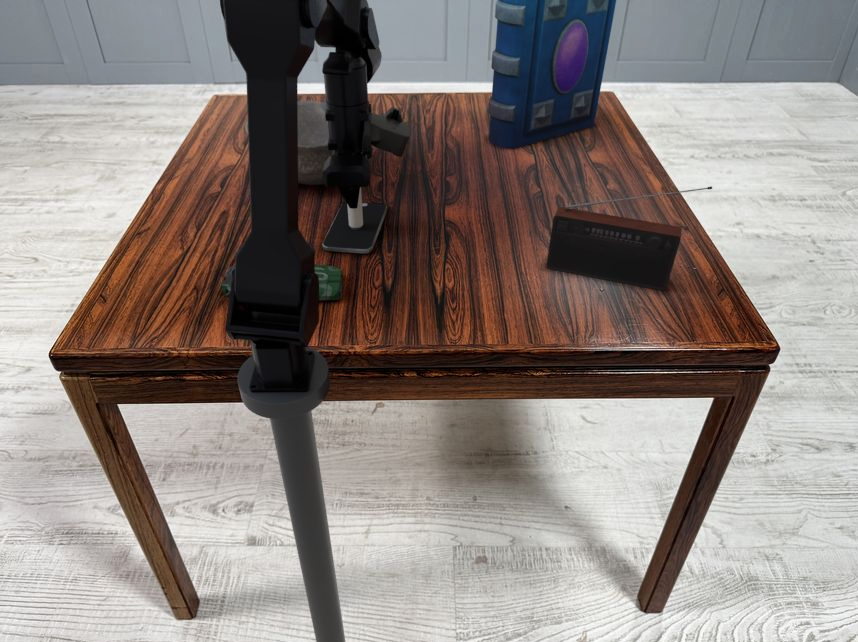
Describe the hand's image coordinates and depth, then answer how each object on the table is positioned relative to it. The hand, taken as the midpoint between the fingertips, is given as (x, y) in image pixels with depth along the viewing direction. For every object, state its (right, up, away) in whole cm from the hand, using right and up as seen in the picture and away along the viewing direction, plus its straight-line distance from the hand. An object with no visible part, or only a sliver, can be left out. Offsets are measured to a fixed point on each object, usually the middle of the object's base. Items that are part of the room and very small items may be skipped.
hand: (354, 204), depth 99 cm
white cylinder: (0, -3, +3) cm, 5 cm away
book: (+34, +22, +34) cm, 53 cm away
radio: (+37, -12, -6) cm, 40 cm away
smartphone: (0, -3, +4) cm, 5 cm away
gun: (-9, -13, -8) cm, 17 cm away
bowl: (-9, +9, +18) cm, 22 cm away
